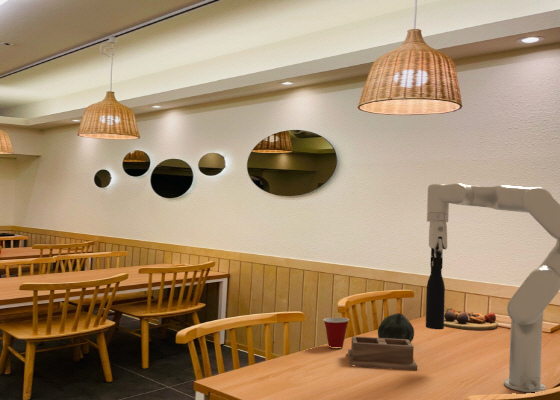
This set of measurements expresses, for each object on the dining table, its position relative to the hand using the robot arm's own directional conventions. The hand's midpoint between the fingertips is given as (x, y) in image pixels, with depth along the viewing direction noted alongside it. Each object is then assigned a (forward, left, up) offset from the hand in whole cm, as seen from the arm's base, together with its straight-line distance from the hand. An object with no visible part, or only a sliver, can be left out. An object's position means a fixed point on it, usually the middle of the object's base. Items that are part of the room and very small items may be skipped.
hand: (436, 267), depth 193 cm
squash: (+33, +9, -37) cm, 51 cm away
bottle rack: (+7, +18, -37) cm, 42 cm away
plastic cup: (+24, +35, -37) cm, 57 cm away
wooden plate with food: (+89, -35, -38) cm, 103 cm away
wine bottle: (0, 0, -22) cm, 22 cm away
